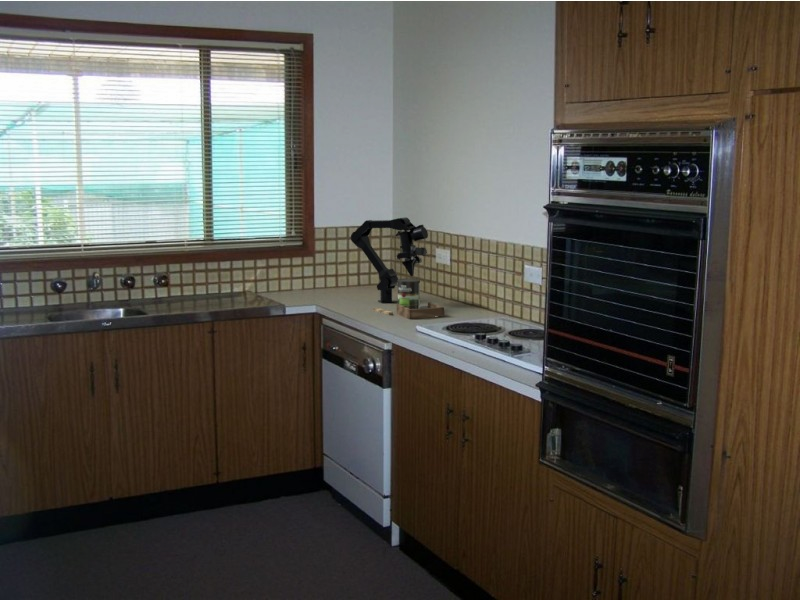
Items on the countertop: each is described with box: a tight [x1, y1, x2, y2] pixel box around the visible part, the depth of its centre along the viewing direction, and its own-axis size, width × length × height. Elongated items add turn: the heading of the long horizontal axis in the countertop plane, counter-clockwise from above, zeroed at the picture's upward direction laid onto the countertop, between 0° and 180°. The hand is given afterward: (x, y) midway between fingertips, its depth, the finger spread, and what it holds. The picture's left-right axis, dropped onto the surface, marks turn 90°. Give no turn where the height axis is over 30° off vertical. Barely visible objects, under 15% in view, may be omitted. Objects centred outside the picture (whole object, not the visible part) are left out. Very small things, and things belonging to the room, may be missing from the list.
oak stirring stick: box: [372, 307, 394, 316], centre depth 412 cm, size 14×2×2 cm, turn 32°
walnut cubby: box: [396, 301, 445, 320], centre depth 405 cm, size 15×16×4 cm
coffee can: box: [397, 278, 421, 309], centre depth 417 cm, size 10×10×14 cm
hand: (412, 276), depth 428 cm, fingers closed
